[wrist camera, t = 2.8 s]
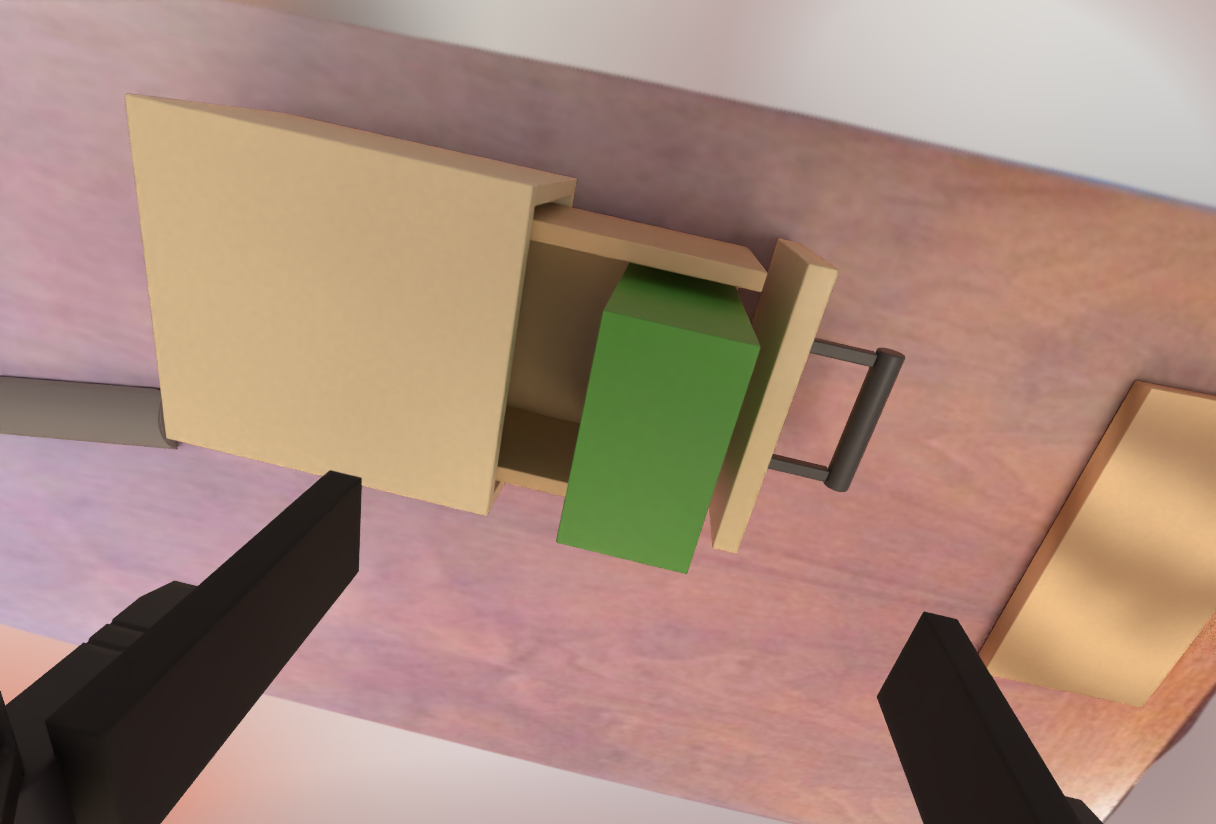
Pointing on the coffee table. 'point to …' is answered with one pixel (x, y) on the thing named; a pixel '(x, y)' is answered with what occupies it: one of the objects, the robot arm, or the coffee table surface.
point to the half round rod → (83, 412)
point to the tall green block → (657, 416)
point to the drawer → (568, 330)
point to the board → (1122, 559)
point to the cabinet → (333, 293)
